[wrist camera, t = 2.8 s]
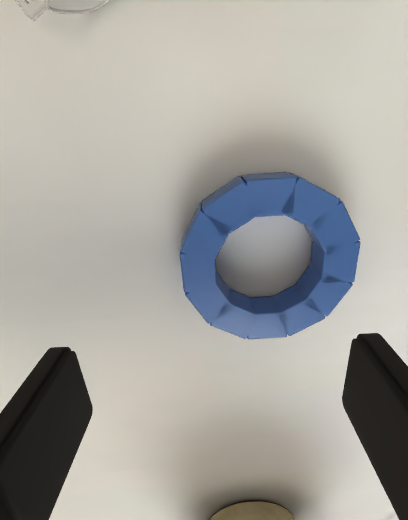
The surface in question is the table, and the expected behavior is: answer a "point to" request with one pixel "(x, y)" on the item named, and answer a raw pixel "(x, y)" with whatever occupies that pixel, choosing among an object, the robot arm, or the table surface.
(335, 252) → the blue ring
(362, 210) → the table surface
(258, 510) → the planter bowl
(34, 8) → the eyeglasses
